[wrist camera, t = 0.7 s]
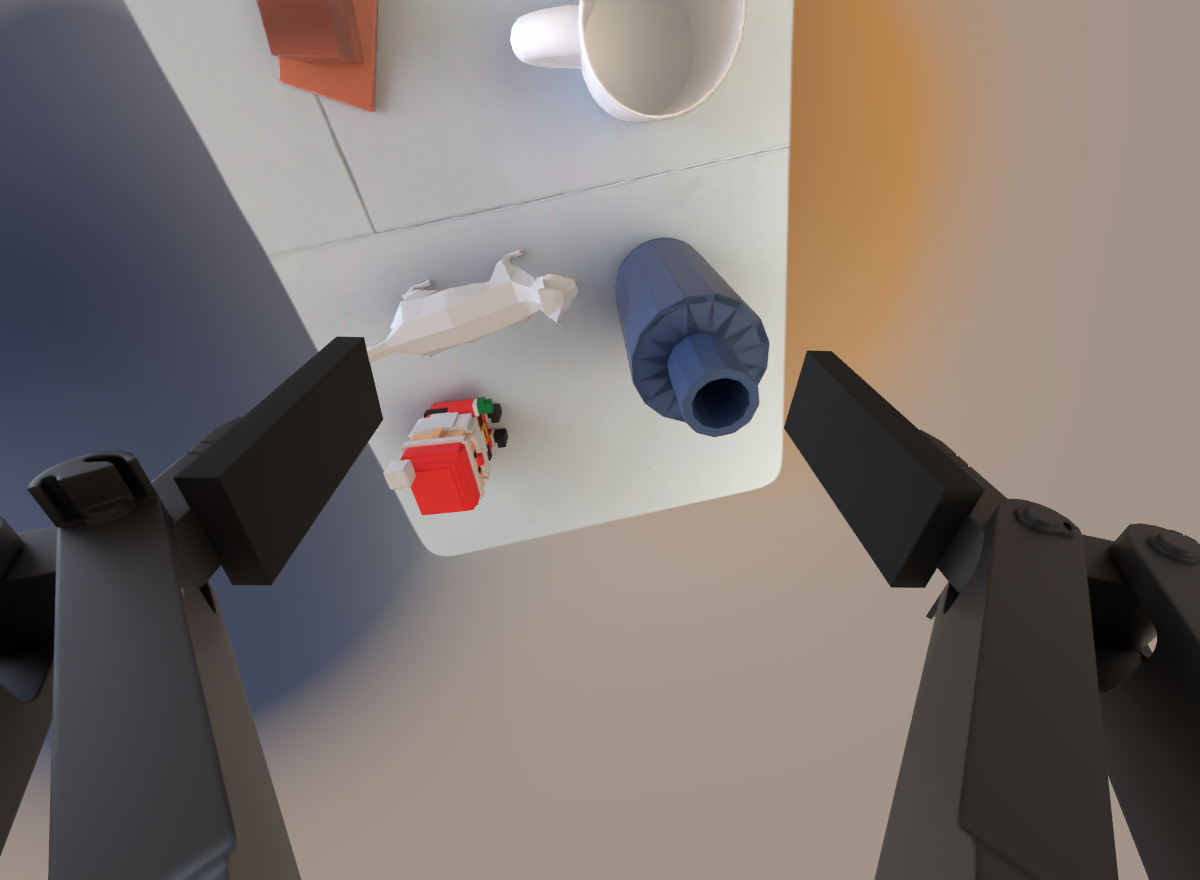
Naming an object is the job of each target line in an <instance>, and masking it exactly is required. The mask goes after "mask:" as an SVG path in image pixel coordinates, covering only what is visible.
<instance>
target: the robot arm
mask: <svg viewBox="0 0 1200 880" xmlns="http://www.w3.org/2000/svg"><path fill="white" fill-rule="evenodd" d="M382 420H383V417H382V413H381V408H380V404H379V400H378V396H377V391H376V387H375V383H374V379H373V374H372V370H371V366H370V362H369V357H368V353H367V349H366V344H365V340H364V337H336V338H334V339H333V340H332V341H331V342H330V343H329V344H327V345H326V346H325V347H324V348H323V349H322V350H321V351H319V352H318V353H317V354H316V355H315V356H314V357H312V358H311V359H310V360H309V361H308V362H307V363H305V364H304V365H303V366H302V367H301V368H300V369H298V370H297V371H296V372H295V373H294V374H293V375H291V376H290V377H289V378H288V379H287V380H286V381H285V382H283V383H282V384H281V385H280V386H279V387H278V388H276V389H275V390H274V391H273V392H272V393H271V394H269V395H268V396H267V397H266V398H265V399H264V400H262V401H261V402H260V403H259V404H258V405H257V406H255V407H254V408H253V409H252V410H251V411H250V412H248V413H247V414H246V415H245V416H244V417H238V418H236V419H234V420H232V421H230V422H228V423H226V424H224V425H222V426H219V427H217V428H216V429H215V430H213V431H212V432H211V433H210V434H208V435H207V436H206V437H205V438H204V439H202V440H201V441H200V444H196V445H195V446H194V447H193V448H191V449H190V450H189V451H188V452H187V455H183V456H182V457H181V458H179V459H178V460H177V461H176V462H174V463H173V464H172V465H171V466H170V467H169V468H167V469H166V470H165V471H164V472H162V473H161V474H160V475H159V476H158V477H156V478H155V479H154V480H153V481H152V482H150V481H149V479H148V477H147V476H146V474H145V472H144V470H143V469H142V467H141V466H140V464H139V462H138V460H137V459H136V458H135V456H133V454H132V453H128V452H124V451H103V452H97V453H92V454H87V455H83V456H80V457H76V458H73V459H70V460H67V461H64V462H62V463H60V464H58V465H56V466H54V467H52V468H49V469H47V470H45V471H44V472H43V473H41V474H40V475H39V476H37V477H36V478H34V479H33V480H32V482H31V483H30V485H29V487H28V488H27V490H28V491H29V492H30V493H31V495H32V496H33V497H34V498H35V500H36V501H37V502H38V504H39V505H40V506H41V508H42V509H43V510H44V511H45V513H46V514H47V515H48V517H49V518H50V519H51V520H52V522H53V523H54V524H55V526H54V527H48V528H42V529H37V530H31V531H25V532H19V533H15V531H14V530H13V529H12V528H11V527H10V525H9V524H8V523H7V522H6V521H5V519H3V518H2V517H1V516H0V855H1V853H2V850H3V848H4V845H5V842H6V840H7V837H8V835H9V832H10V829H11V827H12V824H13V821H14V819H15V816H16V813H17V811H18V808H19V806H20V803H21V801H22V798H23V795H24V793H25V790H26V787H27V785H28V782H29V780H30V777H31V774H32V772H33V769H34V767H35V764H36V761H37V759H38V756H39V754H40V751H41V748H42V746H43V743H44V740H45V738H46V735H47V732H48V730H49V727H50V724H51V722H52V754H51V755H52V757H51V794H50V795H51V796H50V834H49V874H48V875H49V877H48V880H301V878H300V874H299V871H298V868H297V864H296V861H295V857H294V854H293V851H292V847H291V844H290V841H289V837H288V834H287V831H286V827H285V824H284V821H283V817H282V814H281V810H280V807H279V804H278V800H277V797H276V794H275V790H274V787H273V784H272V780H271V777H270V774H269V770H268V767H267V764H266V760H265V757H264V754H263V750H262V747H261V743H260V740H259V737H258V734H257V730H256V727H255V723H254V720H253V717H252V714H251V710H250V707H249V703H248V700H247V697H246V693H245V690H244V687H243V683H242V680H241V677H240V673H239V670H238V667H237V663H236V660H235V657H234V653H233V650H232V646H231V643H230V640H229V637H228V633H227V630H226V626H225V623H224V620H223V616H222V613H221V610H220V606H219V603H218V600H217V596H216V593H215V591H214V589H213V587H212V586H211V584H210V582H209V581H208V580H209V579H210V578H211V576H212V575H213V574H214V573H215V571H216V570H217V569H218V568H219V567H220V565H221V566H222V567H223V569H224V571H225V573H226V575H227V576H228V578H229V580H230V582H231V584H232V585H272V583H273V582H274V580H275V579H276V577H277V576H278V574H279V573H280V571H281V569H282V568H283V567H284V565H285V564H286V562H287V561H288V559H289V558H290V557H291V555H292V554H293V552H294V551H295V549H296V548H297V546H298V545H299V543H300V542H301V540H302V539H303V537H304V536H305V534H306V533H307V531H308V530H309V528H310V527H311V526H312V524H313V523H314V521H315V520H316V518H317V517H318V515H319V514H320V512H321V511H322V509H323V507H324V506H325V505H326V503H327V502H328V500H329V499H330V497H331V496H332V494H333V493H334V491H335V490H336V488H337V487H338V486H339V484H340V483H341V481H342V480H343V478H344V477H345V475H346V474H347V472H348V471H349V469H350V468H351V466H352V465H353V463H354V462H355V460H356V459H357V457H358V456H359V454H360V453H361V451H362V450H363V449H364V447H365V445H366V444H367V443H368V441H369V440H370V438H371V437H372V435H373V434H374V432H375V431H376V429H377V428H378V426H379V425H380V423H381V422H382ZM784 429H785V430H786V432H787V433H788V435H789V436H790V438H791V439H792V441H793V442H794V444H795V445H796V447H797V448H798V449H799V451H800V452H801V454H802V455H803V457H804V458H805V460H806V461H807V463H808V464H809V466H810V467H811V469H812V470H813V472H814V473H815V475H816V476H817V478H818V479H819V481H820V482H821V484H822V485H823V487H824V488H825V490H826V491H827V493H828V494H829V496H830V497H831V499H832V500H833V501H834V503H835V504H836V506H837V508H838V509H839V511H840V512H841V514H842V515H843V517H844V518H845V519H846V521H847V522H848V524H849V525H850V527H851V528H852V530H853V531H854V533H855V534H856V536H857V537H858V539H859V540H860V542H861V543H862V545H863V546H864V548H865V549H866V550H867V552H868V554H869V555H870V556H871V558H872V560H873V561H874V563H875V564H876V566H877V567H878V568H879V570H880V572H881V573H882V574H883V576H884V578H885V579H886V581H887V582H888V583H889V585H890V586H891V587H906V588H911V587H912V588H913V587H914V588H916V587H917V588H924V587H926V585H927V583H928V582H929V580H930V578H931V577H932V575H933V574H934V572H935V570H936V569H937V568H938V569H939V570H940V571H941V572H942V574H943V575H944V576H945V577H946V579H947V580H948V581H949V582H948V584H947V585H946V587H945V588H944V590H943V591H942V593H941V594H940V596H939V597H938V599H937V600H936V602H935V603H934V605H933V606H932V608H931V610H930V611H929V612H928V614H927V616H926V617H928V618H930V619H932V618H933V617H934V616H935V615H936V616H935V621H934V625H933V629H932V634H931V638H930V643H929V647H928V651H927V656H926V660H925V664H924V668H923V672H922V677H921V681H920V686H919V690H918V694H917V699H916V703H915V707H914V711H913V716H912V720H911V724H910V729H909V733H908V737H907V742H906V746H905V750H904V755H903V759H902V763H901V768H900V772H899V776H898V781H897V785H896V789H895V793H894V798H893V802H892V807H891V811H890V815H889V820H888V824H887V828H886V832H885V837H884V841H883V845H882V850H881V854H880V858H879V862H878V867H877V871H876V876H875V880H1118V871H1117V861H1116V852H1115V841H1114V831H1113V822H1112V813H1111V803H1110V793H1109V784H1108V776H1109V779H1110V781H1111V784H1112V786H1113V789H1114V791H1115V794H1116V797H1117V799H1118V802H1119V804H1120V807H1121V809H1122V812H1123V814H1124V817H1125V819H1126V822H1127V825H1128V827H1129V830H1130V832H1131V835H1132V837H1133V840H1134V842H1135V845H1136V848H1137V850H1138V853H1139V855H1140V858H1141V860H1142V863H1143V865H1144V868H1145V870H1146V873H1147V876H1148V878H1149V880H1200V544H1198V543H1197V541H1196V540H1194V539H1192V538H1190V537H1188V536H1186V535H1185V536H1183V534H1181V533H1179V532H1176V531H1174V530H1167V529H1164V528H1161V527H1158V526H1153V525H1147V524H1130V525H1129V526H1128V527H1127V528H1126V529H1125V530H1124V532H1123V533H1122V534H1121V535H1120V536H1119V537H1118V538H1117V539H1116V540H1115V541H1110V540H1105V539H1101V538H1096V537H1091V536H1086V535H1082V534H1081V532H1080V530H1079V528H1078V527H1077V526H1075V524H1073V523H1072V522H1071V521H1070V520H1069V519H1067V518H1066V517H1064V516H1063V515H1061V514H1059V513H1058V512H1056V511H1054V510H1052V509H1050V508H1047V507H1045V506H1043V505H1040V504H1037V503H1033V502H1030V501H1026V500H1020V499H1007V498H1006V497H1005V496H1003V495H1002V494H1001V493H1000V492H999V491H998V490H997V489H996V488H994V487H993V486H992V485H991V484H990V483H989V482H988V481H986V480H985V479H984V478H983V477H982V476H981V475H980V474H978V473H977V472H976V471H975V470H973V468H972V467H968V464H967V463H966V462H965V461H964V460H962V459H961V458H960V457H959V456H956V454H955V453H954V452H953V451H952V450H951V449H950V448H948V446H946V445H945V444H944V443H943V442H942V441H940V440H938V439H936V438H935V437H933V436H931V435H929V434H927V433H926V432H924V431H922V430H918V429H917V428H916V427H915V426H914V425H913V424H912V423H911V422H909V420H907V419H906V418H905V417H904V416H903V415H902V414H901V413H900V412H899V411H897V410H896V409H895V408H894V407H893V406H892V405H891V404H890V403H889V402H887V401H886V400H885V399H884V398H883V397H882V396H881V395H879V394H878V393H877V392H876V391H875V390H874V389H873V388H872V387H871V386H870V385H868V384H867V383H866V382H865V381H864V380H863V379H862V378H861V377H860V376H858V375H857V374H856V373H855V372H854V371H853V370H852V369H851V368H850V367H848V366H847V365H846V364H845V363H844V362H843V361H842V360H841V359H840V358H838V357H837V356H836V355H835V354H834V353H833V352H831V351H807V353H806V356H805V359H804V363H803V366H802V369H801V373H800V376H799V379H798V383H797V386H796V390H795V393H794V397H793V400H792V403H791V406H790V410H789V413H788V417H787V420H786V423H785V426H784ZM1156 636H1157V644H1156V647H1155V650H1154V652H1153V653H1152V651H1151V650H1150V648H1149V646H1148V643H1150V641H1152V640H1153V639H1154V638H1155V637H1156Z"/></svg>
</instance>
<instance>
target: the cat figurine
mask: <svg viewBox="0 0 1200 880" xmlns="http://www.w3.org/2000/svg"><path fill="white" fill-rule="evenodd" d="M522 255H523V253H522V251H521V249H519V250H516V251H514V252H511V253H508V254H506V255H505V256H504V257H503V258H502V259H500V261H499V262H498V263H497V264H496V268H495V270H494V272H493V275H492V277H491V280H490V281H487V282H482V283H476V284H471V285H465V286H460V287H454V288H449V289H446V290H443V291H440V292H437V290H417V289H418V288H421V287H425V286H428V285H431V282H430V280H427V281H425V282H422V283H419V284H416V285H413V286H412V287H411V288H410V289H409V290H408V291H407V292H406V293H404V294H403V295H402V297H403V299H404V300H403V301H401V302H400V304H399V307H398V310H397V312H396V315H395V317H394V320H393V322H392V325H391V328H390V329H391V331H392V332H391V333H390V335H389V336H388V338H387V339H386V341H383V342H380V343H378V344H375V345H373V346H370V347H367V348H366V349H367V353H368V357H369V362H370V363H371V362H373V361H375V360H377V359H379V358H382V357H384V356H386V355H388V354H391V353H405V354H421V355H426V356H430V357H431V356H433V355H435V354H437V353H439V352H441V351H443V350H445V349H448V348H450V347H454V346H458V345H461V344H465V343H469V342H473V341H475V340H478V339H480V338H482V337H484V336H486V335H489V334H491V333H493V332H495V331H497V330H500V329H502V328H504V327H506V326H509V325H511V324H513V323H515V322H518V321H528V320H529V318H530V317H531V316H532V315H533V313H537V312H541V311H542V312H544V313H545V314H546V315H547V316H548V317H549V318H550V319H551V320H553V321H554V322H555V323H557V324H558V325H559V326H560V323H559V321H558V318H559V314H560V313H562V312H565V311H566V310H567V309H568V307H569V305H570V304H571V302H572V301H573V299H574V298H575V296H576V295H577V293H578V288H577V284H576V282H575V279H573V278H569V277H565V276H561V275H557V274H554V273H551V274H547V275H544V276H542V275H541V276H540V277H538V278H536V279H534V278H533V277H532V276H531V275H529V274H528V273H526V272H525V271H523V270H521V269H520V268H518V267H517V266H515V265H514V264H512V263H511V259H513V258H516V257H519V256H522ZM560 327H561V326H560Z"/></svg>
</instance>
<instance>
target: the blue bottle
mask: <svg viewBox="0 0 1200 880" xmlns="http://www.w3.org/2000/svg"><path fill="white" fill-rule="evenodd" d="M615 289H616V300H617V307H618V312H619V317H620V321H621V326H622V331H623V336H624V341H625V346H626V351H627V356H628V361H629V365H630V370H631V375H632V380H633V384H634V385H635V387H636V389H637V391H638V392H639V394H640V396H641V398H642V399H643V401H644V403H645V404H647V405H648V406H649V407H651V408H652V409H654V410H655V411H656V412H658V413H659V414H660V415H662V416H664V417H667V418H671V419H675V420H679V421H683V422H686V423H687V424H688V425H689V426H690V427H691V428H692V429H693V430H694V431H695V432H697V433H700V434H704V435H708V436H712V437H717V436H722V435H727V434H731V433H734V432H736V431H737V430H739V429H740V428H741V427H743V426H744V425H746V424H747V423H748V422H750V420H751V419H752V417H753V415H754V413H755V411H756V409H757V408H758V406H759V393H758V384H759V382H760V380H761V378H762V376H763V375H764V373H765V371H766V369H767V362H768V351H769V340H768V337H767V335H766V332H765V329H764V326H763V324H762V321H761V319H760V318H759V317H758V316H757V314H756V313H755V312H754V311H753V310H752V309H751V308H750V307H749V306H748V305H747V304H746V303H745V302H744V301H743V300H742V299H741V297H740V296H739V295H738V294H737V293H736V292H735V291H734V290H733V289H732V288H731V287H730V286H729V285H728V284H727V283H726V281H725V280H724V279H723V278H722V277H721V276H720V275H719V274H718V273H717V272H716V271H715V270H714V269H713V268H712V267H711V266H710V264H709V263H708V262H707V261H706V260H705V259H704V258H703V257H702V256H701V255H700V254H699V253H698V252H697V251H696V250H695V249H694V248H692V247H691V246H690V245H689V244H686V243H685V242H682V241H680V240H676V239H672V238H659V239H654V240H651V241H648V242H646V243H643V244H641V245H640V246H638V247H637V248H636V249H634V250H633V251H632V252H631V253H630V254H629V255H628V256H627V257H626V259H625V260H624V262H623V263H622V265H621V267H620V269H619V272H618V275H617V279H616V285H615Z"/></svg>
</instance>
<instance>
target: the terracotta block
mask: <svg viewBox="0 0 1200 880" xmlns="http://www.w3.org/2000/svg"><path fill="white" fill-rule="evenodd" d="M257 4H258V8H259V11H260V15H261V18H262V22H263V26H264V29H265V33H266V37H267V40H268V44H269V48H270V51H271V54H272V55H274V56H279V57H283V58H287V59H291V60H296V61H300V62H306V63H338V64H364V61H363V56H362V50H361V45H360V40H359V35H358V30H357V25H356V19H355V14H354V9H353V4H352V0H257Z"/></svg>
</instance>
